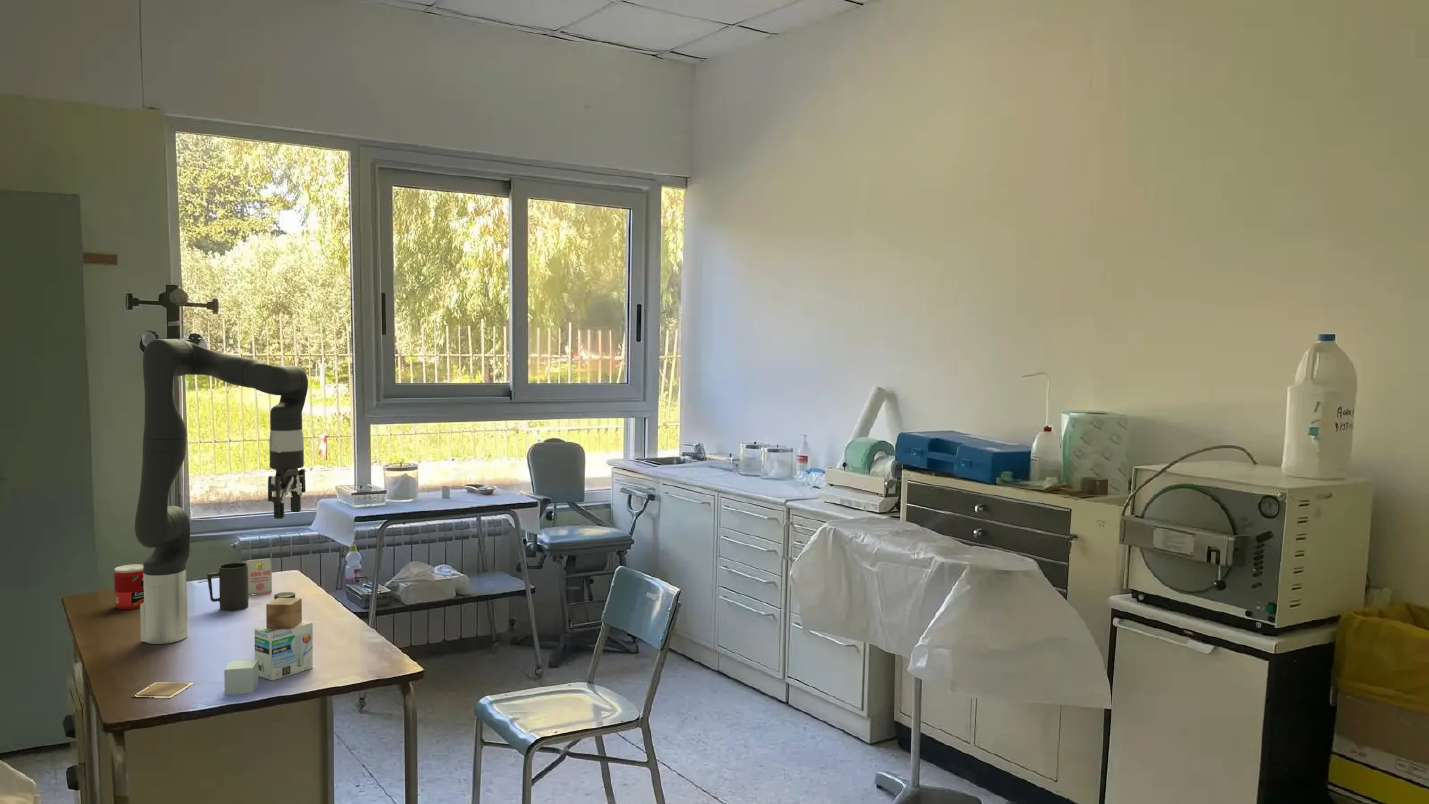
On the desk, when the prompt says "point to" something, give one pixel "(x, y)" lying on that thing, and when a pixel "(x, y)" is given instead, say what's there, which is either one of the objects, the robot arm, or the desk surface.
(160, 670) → the desk surface
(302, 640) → the light bulb box
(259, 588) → the beige rectangular box
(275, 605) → the walnut block
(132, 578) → the canned food
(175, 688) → the swatch
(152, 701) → the desk surface
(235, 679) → the pale green cube
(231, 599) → the mug
